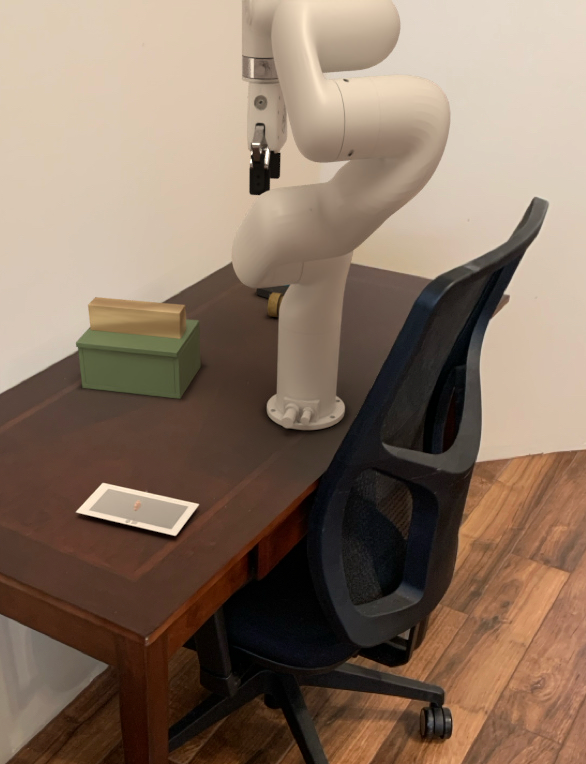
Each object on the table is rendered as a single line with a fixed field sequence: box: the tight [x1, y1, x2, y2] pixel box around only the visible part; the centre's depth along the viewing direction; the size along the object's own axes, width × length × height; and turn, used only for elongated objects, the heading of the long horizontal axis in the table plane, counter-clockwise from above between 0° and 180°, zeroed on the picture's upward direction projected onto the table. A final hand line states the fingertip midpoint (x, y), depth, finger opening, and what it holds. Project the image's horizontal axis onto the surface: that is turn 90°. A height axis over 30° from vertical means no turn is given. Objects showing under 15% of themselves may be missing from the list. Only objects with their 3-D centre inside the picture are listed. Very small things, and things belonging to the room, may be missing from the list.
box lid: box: [75, 318, 200, 357], centre depth 152 cm, size 13×18×1 cm
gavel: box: [266, 292, 284, 318], centre depth 181 cm, size 21×5×10 cm
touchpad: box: [75, 482, 200, 537], centre depth 123 cm, size 8×15×2 cm, turn 67°
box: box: [77, 325, 202, 400], centre depth 155 cm, size 13×18×8 cm
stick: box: [87, 296, 187, 339], centre depth 151 cm, size 4×16×4 cm, turn 75°
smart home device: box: [256, 285, 290, 299], centre depth 190 cm, size 8×2×20 cm
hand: (265, 186), depth 145 cm, fingers open, 9 cm apart
